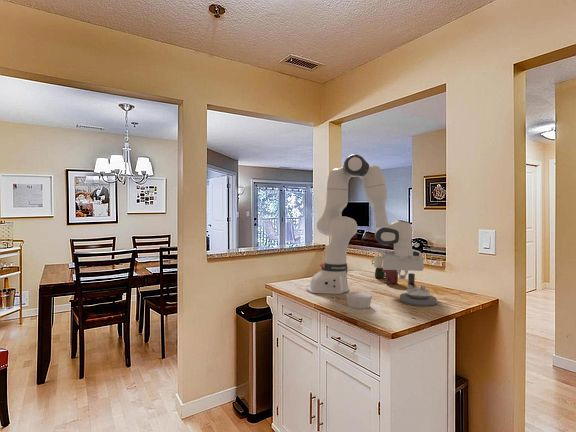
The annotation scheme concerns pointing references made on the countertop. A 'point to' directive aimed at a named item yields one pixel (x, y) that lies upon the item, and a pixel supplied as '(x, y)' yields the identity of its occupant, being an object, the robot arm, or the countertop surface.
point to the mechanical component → (391, 276)
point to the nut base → (418, 300)
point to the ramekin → (359, 300)
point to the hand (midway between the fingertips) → (402, 278)
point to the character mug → (378, 267)
